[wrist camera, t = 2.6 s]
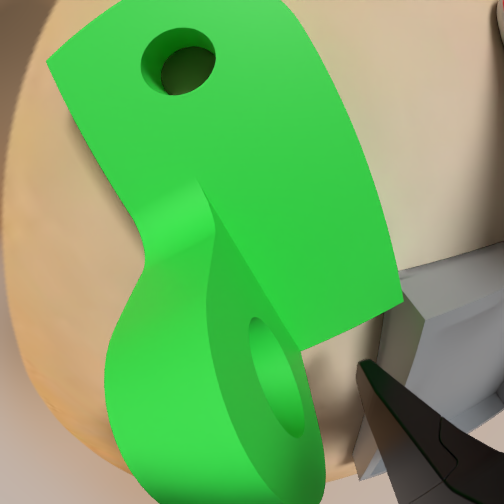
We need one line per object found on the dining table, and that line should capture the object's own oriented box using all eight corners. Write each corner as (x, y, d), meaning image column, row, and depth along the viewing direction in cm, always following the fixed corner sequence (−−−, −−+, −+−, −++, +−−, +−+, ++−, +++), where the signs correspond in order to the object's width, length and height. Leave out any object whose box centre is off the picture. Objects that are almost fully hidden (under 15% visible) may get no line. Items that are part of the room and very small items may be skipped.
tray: (565, 219, 10) (591, 236, 7) (495, 389, 19) (506, 407, 16) (388, 273, 10) (425, 320, 8) (352, 454, 19) (359, 481, 16)
